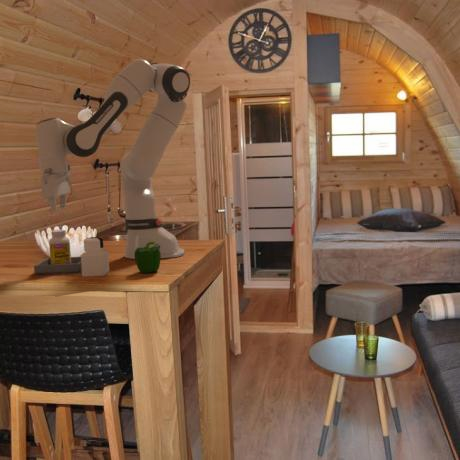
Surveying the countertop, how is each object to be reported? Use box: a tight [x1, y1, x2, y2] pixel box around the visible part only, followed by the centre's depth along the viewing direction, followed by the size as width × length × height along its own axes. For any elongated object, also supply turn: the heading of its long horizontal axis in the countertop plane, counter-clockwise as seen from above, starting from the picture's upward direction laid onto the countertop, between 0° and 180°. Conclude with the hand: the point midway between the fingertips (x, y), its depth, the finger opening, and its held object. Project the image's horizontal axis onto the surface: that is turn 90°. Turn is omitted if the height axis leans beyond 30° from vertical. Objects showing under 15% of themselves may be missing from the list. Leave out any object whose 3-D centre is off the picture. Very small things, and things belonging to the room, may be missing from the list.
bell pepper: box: [134, 241, 162, 274], centre depth 178 cm, size 8×8×10 cm
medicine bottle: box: [80, 236, 110, 278], centre depth 178 cm, size 7×7×12 cm
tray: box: [33, 256, 82, 276], centre depth 188 cm, size 15×13×3 cm
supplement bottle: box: [48, 229, 72, 265], centre depth 187 cm, size 7×7×13 cm
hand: (58, 209), depth 186 cm, fingers open, 8 cm apart
